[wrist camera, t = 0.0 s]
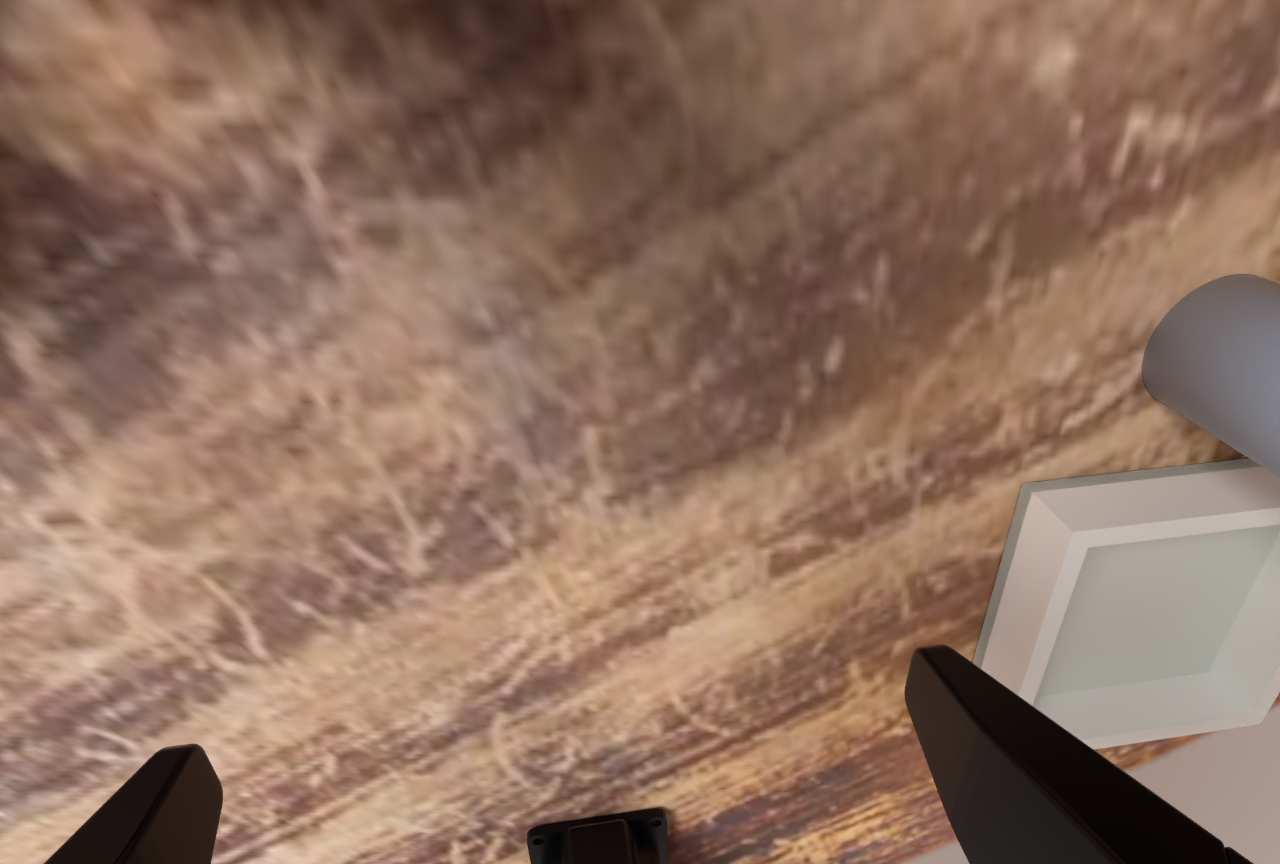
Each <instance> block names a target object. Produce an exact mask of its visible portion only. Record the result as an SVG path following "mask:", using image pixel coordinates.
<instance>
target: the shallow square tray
mask: <svg viewBox="0 0 1280 864" xmlns="http://www.w3.org/2000/svg"><path fill="white" fill-rule="evenodd" d="M973 664H975V665H976V666H978V667H979V668H980V669H982V670H983V671H985V672H986V673H987V674H989V675H990V676H992V677H993V678H994V679H996V680H997V681H999V682H1000V683H1001V684H1003V685H1004V686H1006V687H1007V688H1008V689H1010V690H1011V691H1013V692H1014V693H1015V694H1017V695H1018V696H1019V697H1021V698H1022V699H1024V700H1025V701H1026V702H1028V703H1029V704H1031V705H1032V706H1033V707H1035V708H1036V709H1038V710H1039V711H1040V712H1042V713H1043V714H1045V715H1046V716H1047V717H1049V718H1050V719H1052V720H1053V721H1054V722H1056V723H1057V724H1059V725H1060V726H1061V727H1063V728H1064V729H1066V730H1067V731H1068V732H1070V733H1071V734H1073V735H1074V736H1075V737H1077V738H1078V739H1080V740H1081V741H1082V742H1084V743H1085V744H1087V745H1088V746H1089V747H1091V748H1092V749H1101V748H1108V747H1114V746H1121V745H1127V744H1134V743H1141V742H1147V741H1154V740H1160V739H1167V738H1174V737H1180V736H1187V735H1193V734H1200V733H1206V732H1213V731H1220V730H1226V729H1233V728H1239V727H1246V726H1253V725H1259V724H1261V723H1262V721H1263V719H1264V718H1265V716H1266V714H1267V713H1268V711H1269V709H1270V708H1271V706H1272V704H1273V703H1274V701H1275V699H1276V698H1277V696H1278V694H1279V693H1280V478H1279V477H1278V476H1276V475H1274V474H1273V473H1271V472H1270V471H1268V470H1267V469H1265V468H1263V467H1262V466H1260V465H1259V464H1257V463H1256V462H1254V461H1252V460H1251V459H1249V458H1246V459H1237V460H1228V461H1219V462H1210V463H1201V464H1192V465H1183V466H1174V467H1165V468H1156V469H1147V470H1138V471H1129V472H1120V473H1111V474H1102V475H1093V476H1084V477H1075V478H1066V479H1057V480H1048V481H1039V482H1030V483H1022V487H1021V490H1020V494H1019V498H1018V501H1017V505H1016V508H1015V512H1014V516H1013V519H1012V523H1011V526H1010V530H1009V534H1008V537H1007V541H1006V544H1005V548H1004V552H1003V555H1002V559H1001V562H1000V566H999V569H998V573H997V577H996V580H995V584H994V587H993V591H992V595H991V598H990V602H989V605H988V609H987V613H986V616H985V620H984V623H983V627H982V631H981V634H980V638H979V641H978V645H977V648H976V652H975V656H974V659H973Z"/></svg>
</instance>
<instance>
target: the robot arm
mask: <svg viewBox="0 0 1280 864" xmlns="http://www.w3.org/2000/svg"><path fill="white" fill-rule="evenodd" d="M905 701H906V705H907V709H908V711H909V714H910V717H911V720H912V722H913V725H914V728H915V730H916V733H917V736H918V739H919V741H920V744H921V747H922V750H923V752H924V755H925V758H926V760H927V763H928V766H929V769H930V771H931V774H932V777H933V779H934V782H935V785H936V788H937V790H938V793H939V796H940V799H941V801H942V804H943V806H944V809H945V811H946V814H947V816H948V819H949V821H950V823H951V826H952V828H953V830H954V832H955V834H956V837H957V839H958V841H959V843H960V845H961V847H962V849H963V851H964V853H965V855H966V857H967V859H968V861H969V863H970V864H1253V863H1252V862H1250V861H1249V860H1248V859H1246V858H1245V857H1243V856H1242V855H1240V854H1239V853H1238V852H1236V851H1235V850H1234V849H1232V848H1230V847H1224V845H1223V843H1222V841H1221V840H1219V839H1218V838H1216V837H1215V836H1214V835H1212V834H1211V833H1209V832H1208V831H1207V830H1205V829H1204V828H1202V827H1201V826H1200V825H1198V824H1197V823H1195V822H1194V821H1193V820H1191V819H1190V818H1188V817H1187V816H1186V815H1184V814H1183V813H1181V812H1180V811H1179V810H1177V809H1176V808H1174V807H1173V806H1172V805H1170V804H1169V803H1168V802H1166V801H1165V800H1163V799H1162V798H1161V797H1159V796H1158V795H1156V794H1155V793H1154V792H1152V791H1151V790H1149V789H1148V788H1147V787H1145V786H1144V785H1142V784H1141V783H1140V782H1138V781H1137V780H1135V779H1134V778H1133V777H1131V776H1130V775H1128V774H1127V773H1126V772H1124V771H1123V770H1121V769H1120V768H1119V767H1117V766H1116V765H1114V764H1113V763H1112V762H1110V761H1109V760H1107V759H1106V758H1105V757H1103V756H1102V755H1100V754H1099V753H1098V752H1096V751H1095V750H1094V749H1092V748H1091V747H1089V746H1088V745H1087V744H1085V743H1084V742H1082V741H1081V740H1080V739H1078V738H1077V737H1075V736H1074V735H1073V734H1071V733H1070V732H1068V731H1067V730H1066V729H1064V728H1063V727H1061V726H1060V725H1059V724H1057V723H1056V722H1054V721H1053V720H1052V719H1050V718H1049V717H1047V716H1046V715H1045V714H1043V713H1042V712H1040V711H1039V710H1038V709H1036V708H1035V707H1033V706H1032V705H1031V704H1029V703H1028V702H1026V701H1025V700H1024V699H1022V698H1021V697H1019V696H1018V695H1017V694H1015V693H1014V692H1013V691H1011V690H1010V689H1008V688H1007V687H1006V686H1004V685H1003V684H1001V683H1000V682H999V681H997V680H996V679H994V678H993V677H992V676H990V675H989V674H987V673H986V672H985V671H983V670H982V669H980V668H979V667H978V666H976V665H975V664H973V663H972V662H971V661H969V660H968V659H966V658H965V657H964V656H962V655H961V654H959V653H958V652H957V651H955V650H954V649H952V648H951V647H949V646H946V645H933V646H925V647H919V648H917V649H916V650H915V651H914V652H913V655H912V658H911V663H910V667H909V672H908V676H907V681H906V685H905ZM222 803H223V790H222V786H221V783H220V780H219V779H218V777H217V775H216V773H215V771H214V769H213V767H212V765H211V763H210V761H209V759H208V757H207V755H206V753H205V751H204V750H203V748H202V747H201V746H199V745H197V744H187V745H179V746H172V747H166V748H163V749H161V750H159V751H158V752H156V753H155V754H154V755H153V756H152V757H151V758H150V759H149V760H148V761H147V762H146V763H145V764H144V765H143V766H142V767H141V768H140V769H139V770H138V771H137V772H136V773H135V774H134V775H133V776H132V777H131V778H130V779H129V780H128V781H127V782H126V783H125V784H124V785H123V786H122V787H121V788H120V789H119V790H118V791H117V792H116V793H115V794H114V795H112V796H111V797H110V798H109V799H108V800H107V801H106V802H105V803H104V804H103V805H102V806H101V807H100V808H99V809H98V810H97V811H96V812H95V813H94V814H93V815H92V816H91V817H90V818H89V819H88V820H87V821H86V822H85V823H84V824H83V825H82V826H81V827H80V828H79V829H78V830H77V831H76V832H75V833H74V834H73V835H72V836H71V837H70V838H69V839H68V840H67V841H66V842H65V843H64V844H63V845H62V846H61V847H60V848H59V849H58V850H57V851H56V852H55V853H54V854H53V855H52V856H51V857H50V858H49V859H48V860H47V861H46V862H45V863H44V864H211V859H212V854H213V849H214V844H215V839H216V834H217V829H218V824H219V819H220V814H221V809H222ZM527 845H528V850H529V855H530V861H531V864H668V850H667V820H666V814H665V812H664V811H663V810H660V809H653V810H647V811H640V812H634V813H627V814H620V815H614V816H607V817H600V818H594V819H587V820H581V821H574V822H567V823H561V824H554V825H547V826H541V827H535V828H532V829H531V830H529V831H528V833H527Z"/></svg>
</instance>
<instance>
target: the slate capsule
mask: <svg viewBox="0 0 1280 864" xmlns="http://www.w3.org/2000/svg"><path fill="white" fill-rule="evenodd" d="M1142 376H1143V381H1144V384H1145V387H1146V389H1147V390H1148V392H1149V393H1150V394H1151V395H1152V396H1153V397H1154V398H1155V399H1156V400H1158V401H1159V402H1161V403H1162V404H1164V405H1166V406H1167V407H1169V408H1170V409H1172V410H1173V411H1175V412H1177V413H1178V414H1180V415H1181V416H1183V417H1185V418H1186V419H1188V420H1189V421H1191V422H1192V423H1194V424H1196V425H1197V426H1199V427H1200V428H1202V429H1203V430H1205V431H1207V432H1208V433H1210V434H1211V435H1213V436H1215V437H1216V438H1218V439H1219V440H1221V441H1222V442H1224V443H1226V444H1227V445H1229V446H1230V447H1232V448H1233V449H1235V450H1237V451H1238V452H1240V453H1241V454H1243V455H1244V456H1246V457H1248V458H1249V459H1251V460H1252V461H1254V462H1256V463H1257V464H1259V465H1260V466H1262V467H1263V468H1265V469H1267V470H1268V471H1270V472H1271V473H1273V474H1274V475H1276V476H1278V477H1279V478H1280V284H1277V283H1275V282H1272V281H1269V280H1267V279H1264V278H1262V277H1258V276H1255V275H1249V274H1237V275H1230V276H1226V277H1222V278H1219V279H1216V280H1214V281H1211V282H1209V283H1207V284H1205V285H1203V286H1201V287H1199V288H1198V289H1196V290H1195V291H1193V292H1191V293H1190V294H1189V295H1187V296H1186V297H1185V298H1183V299H1182V300H1181V301H1180V302H1179V303H1178V304H1176V305H1175V306H1174V307H1173V308H1172V309H1171V310H1170V311H1169V312H1168V314H1167V315H1166V316H1165V317H1164V318H1163V320H1162V321H1161V322H1160V323H1159V325H1158V326H1157V328H1156V329H1155V331H1154V333H1153V334H1152V336H1151V338H1150V340H1149V342H1148V345H1147V347H1146V350H1145V354H1144V357H1143V363H1142Z"/></svg>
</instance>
